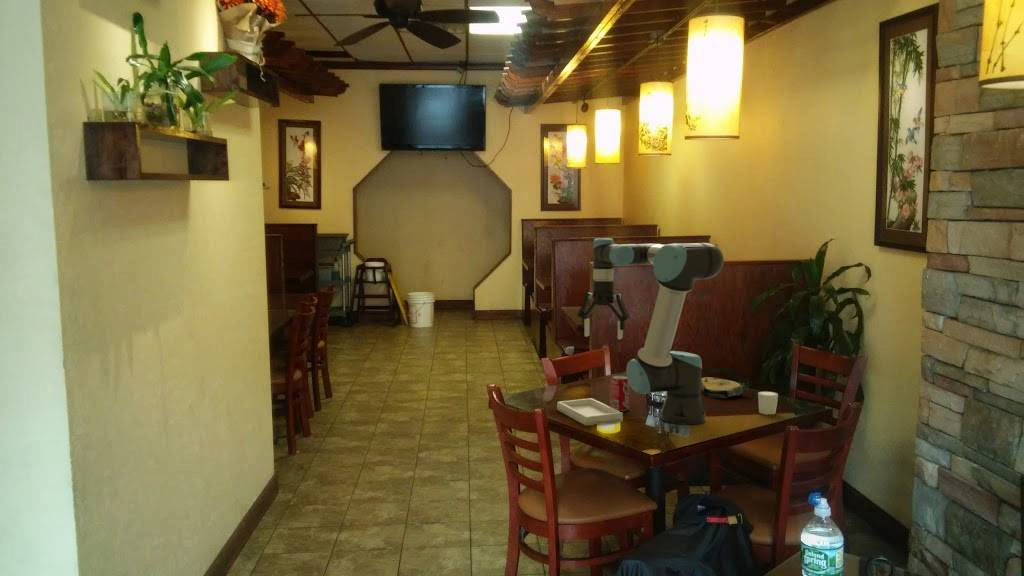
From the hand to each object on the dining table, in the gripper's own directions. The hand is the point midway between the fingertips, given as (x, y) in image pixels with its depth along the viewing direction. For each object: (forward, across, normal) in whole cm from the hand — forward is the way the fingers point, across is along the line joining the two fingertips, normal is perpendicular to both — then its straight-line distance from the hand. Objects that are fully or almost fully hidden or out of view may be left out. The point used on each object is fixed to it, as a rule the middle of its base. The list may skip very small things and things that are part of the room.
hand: (603, 337), depth 308 cm
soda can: (+25, -10, +7) cm, 28 cm away
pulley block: (+25, -29, -39) cm, 55 cm away
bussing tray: (+25, -5, +21) cm, 32 cm away
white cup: (+26, -56, -18) cm, 64 cm away
